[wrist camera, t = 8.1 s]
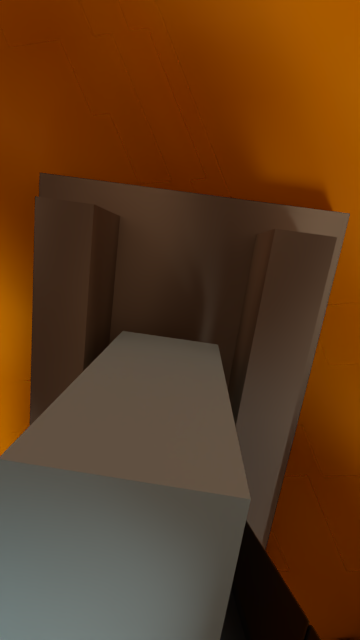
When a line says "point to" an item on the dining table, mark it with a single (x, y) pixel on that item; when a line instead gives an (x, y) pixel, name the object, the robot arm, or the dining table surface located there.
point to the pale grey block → (125, 501)
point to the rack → (187, 299)
